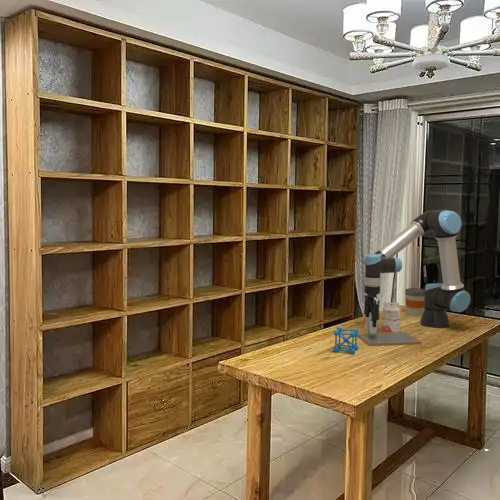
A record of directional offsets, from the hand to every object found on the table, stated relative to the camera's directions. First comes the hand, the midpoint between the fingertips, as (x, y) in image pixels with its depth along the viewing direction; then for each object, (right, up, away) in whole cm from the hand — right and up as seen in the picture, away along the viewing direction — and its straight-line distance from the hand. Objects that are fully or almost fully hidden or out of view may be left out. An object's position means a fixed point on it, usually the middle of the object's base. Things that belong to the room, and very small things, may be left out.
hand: (370, 331), depth 263 cm
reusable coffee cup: (+40, +1, +58) cm, 70 cm away
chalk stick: (+1, -3, 0) cm, 3 cm away
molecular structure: (-16, -6, -20) cm, 26 cm away
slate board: (+8, -4, -1) cm, 9 cm away
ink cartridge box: (+15, -2, +18) cm, 23 cm away
